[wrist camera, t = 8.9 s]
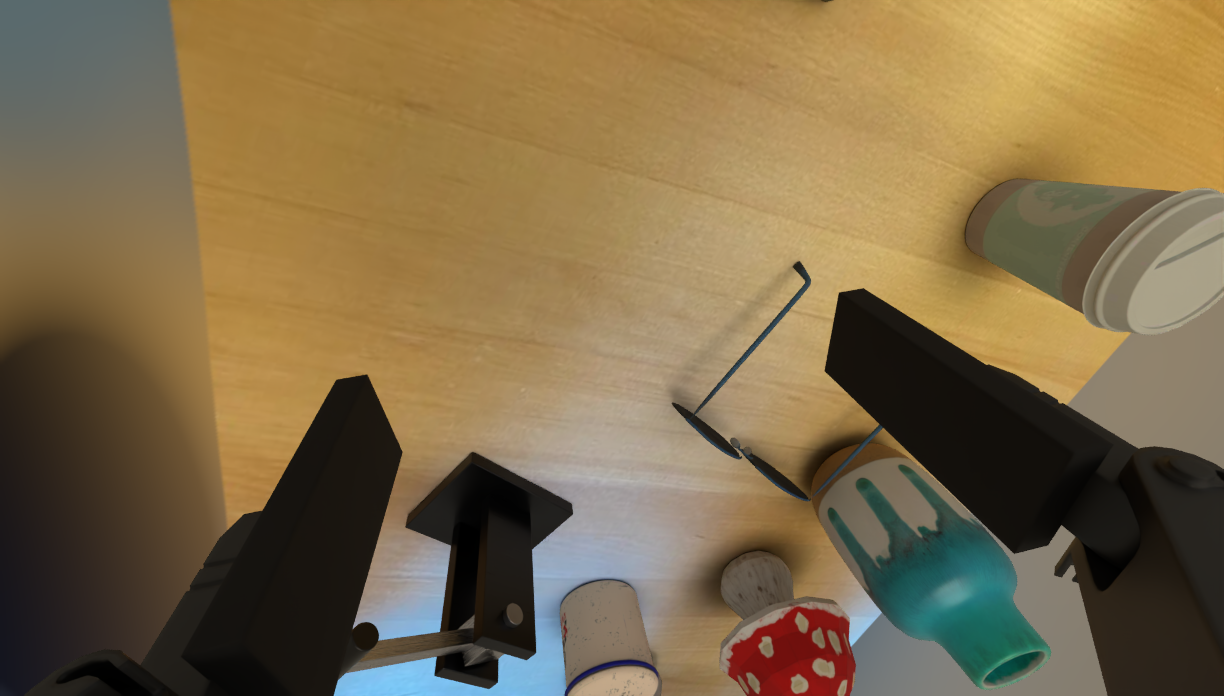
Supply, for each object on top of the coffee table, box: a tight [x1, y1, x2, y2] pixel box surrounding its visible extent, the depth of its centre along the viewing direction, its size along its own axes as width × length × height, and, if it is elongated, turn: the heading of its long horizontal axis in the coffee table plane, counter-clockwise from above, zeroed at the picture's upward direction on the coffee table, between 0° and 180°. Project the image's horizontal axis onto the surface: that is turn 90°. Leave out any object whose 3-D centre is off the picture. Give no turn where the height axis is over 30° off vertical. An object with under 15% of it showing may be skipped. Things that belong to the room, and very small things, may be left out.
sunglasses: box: [672, 261, 883, 501], centre depth 39 cm, size 17×15×5 cm
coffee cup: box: [965, 179, 1224, 335], centre depth 31 cm, size 8×8×12 cm
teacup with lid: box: [560, 580, 658, 696], centre depth 47 cm, size 12×9×12 cm
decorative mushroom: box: [720, 551, 856, 696], centre depth 47 cm, size 14×14×15 cm
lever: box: [338, 615, 504, 680], centre depth 29 cm, size 12×5×2 cm, turn 45°
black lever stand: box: [405, 452, 573, 689], centre depth 36 cm, size 11×9×13 cm
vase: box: [811, 443, 1051, 690], centre depth 39 cm, size 11×11×19 cm
